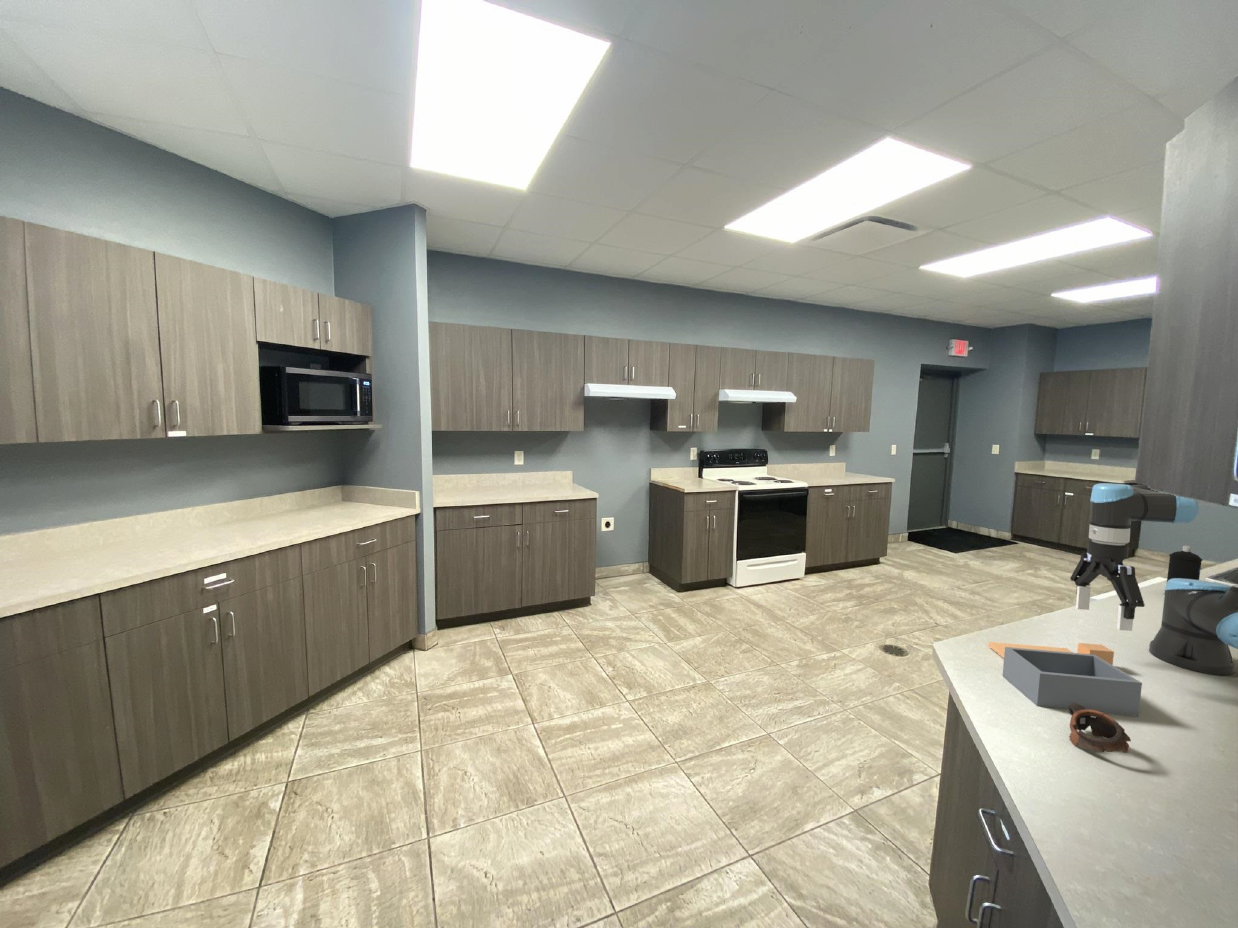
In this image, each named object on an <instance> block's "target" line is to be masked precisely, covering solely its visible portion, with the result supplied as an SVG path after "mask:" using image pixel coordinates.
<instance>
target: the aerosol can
mask: <svg viewBox="0 0 1238 928" xmlns="http://www.w3.org/2000/svg"><path fill="white" fill-rule="evenodd" d="M1191 549H1192V546H1190V545H1183V546H1182V550H1179V551H1174V552H1172V553H1170V554H1168V556H1169V560H1168V561H1169V562H1168V570H1167V575H1166V577H1167V579H1166V582H1167V581H1168V580H1170V579H1173V578H1182V579H1193V580H1200V577H1201V576H1200V575H1201V570H1202V562H1203V558H1201V557H1200V556H1199V555H1198V554H1196V553H1193V552H1191ZM1163 594H1164V595H1165V592H1163Z"/></svg>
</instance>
